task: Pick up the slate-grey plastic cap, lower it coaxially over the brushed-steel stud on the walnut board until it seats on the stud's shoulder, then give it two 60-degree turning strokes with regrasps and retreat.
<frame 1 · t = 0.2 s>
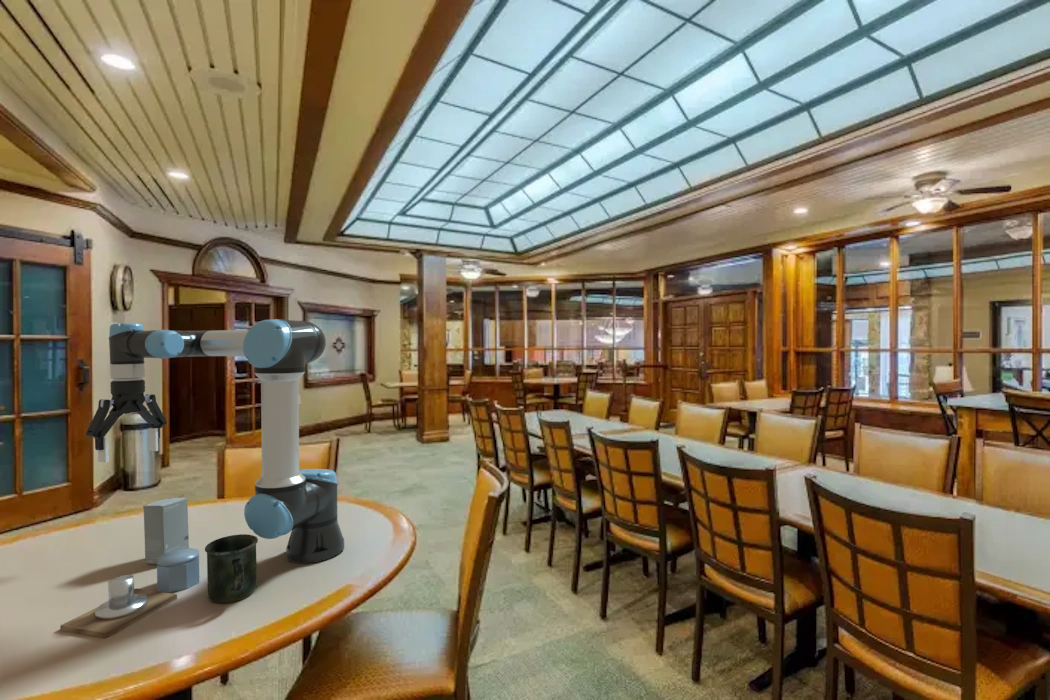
hand: (129, 456, 142), 28 cm above the table, fingers open, 13 cm apart
skincare box: (167, 559, 140), on the table
base board: (122, 613, 112), on the table
cap: (179, 583, 126), on the table
stud: (121, 594, 112), on the base board, point 4 cm above the table
mug: (234, 597, 119), on the table
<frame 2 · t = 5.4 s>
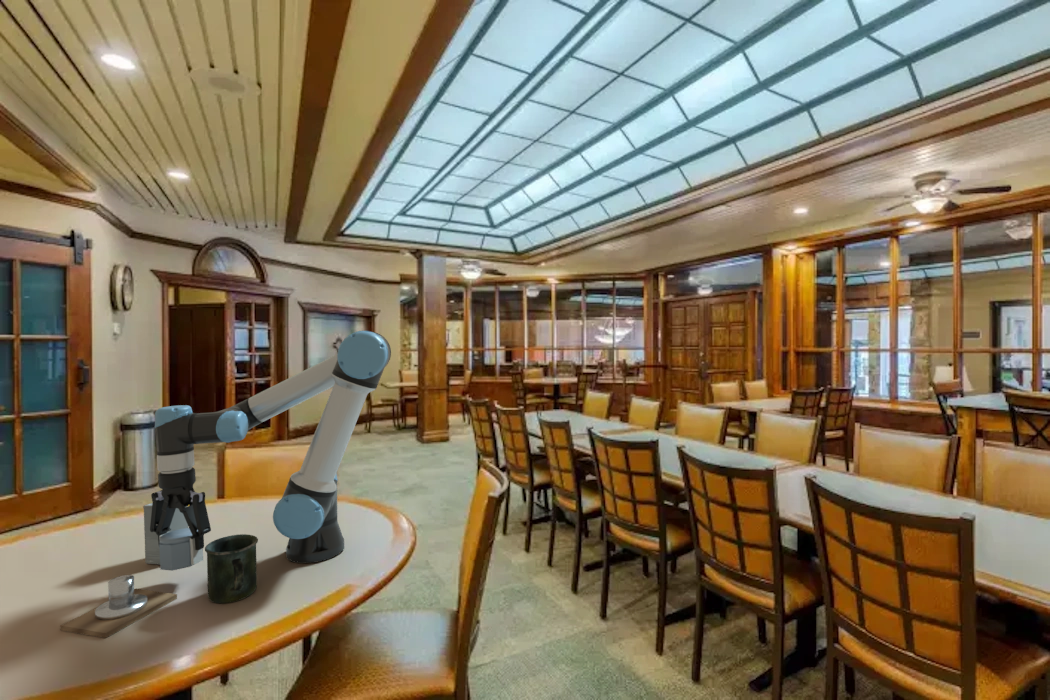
hand: (182, 561, 126), 6 cm above the table, fingers closed on cap, 8 cm apart
cap: (182, 562, 126), point 5 cm above the table, touching gripper
everything else where it was.
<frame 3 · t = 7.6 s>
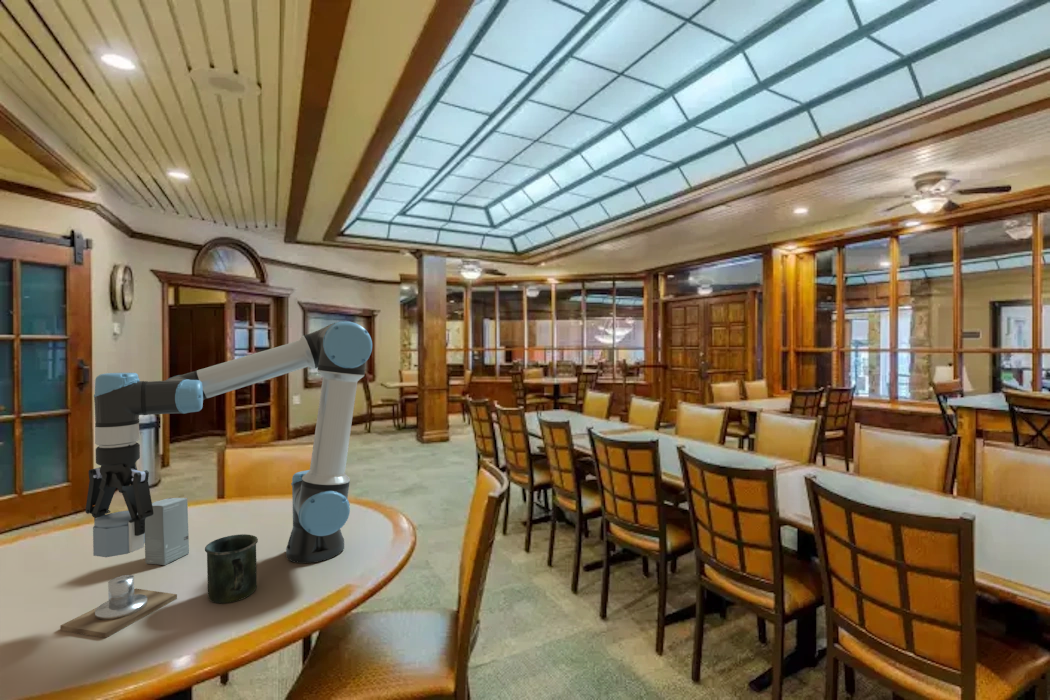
hand: (119, 547, 112), 15 cm above the table, fingers closed on cap, 8 cm apart
cap: (119, 548, 112), point 14 cm above the table, touching gripper
everything else where it was.
when the fingers open (3 cm above the table, at t = 10.0 s): cap stays where it is, resting on stud.
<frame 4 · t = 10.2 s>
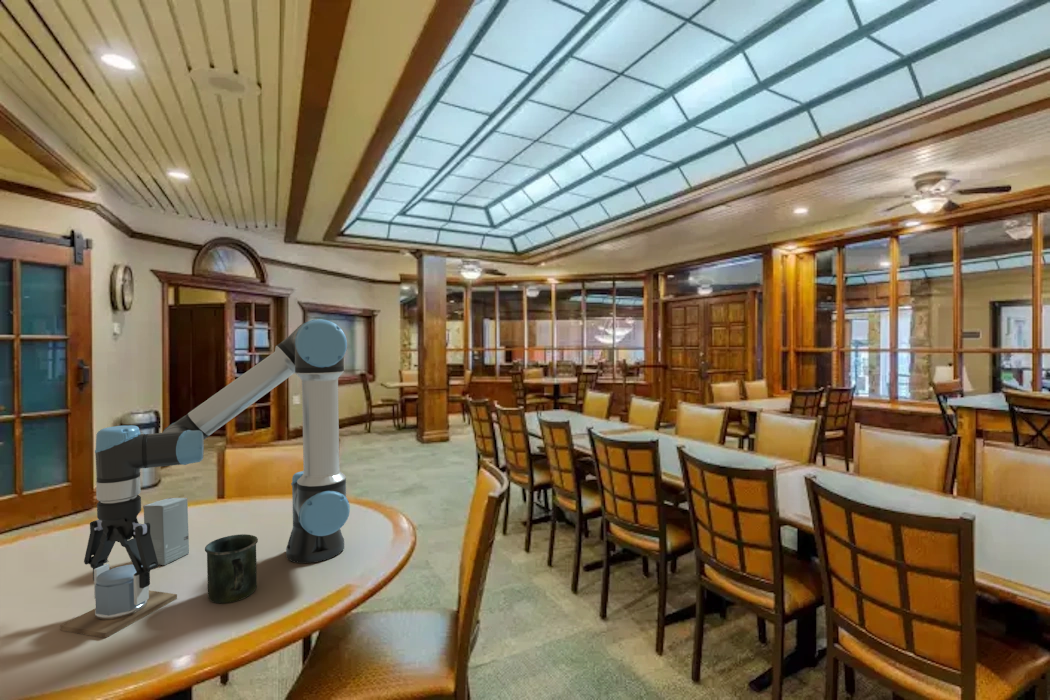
hand: (121, 598, 112), 3 cm above the table, fingers open, 10 cm apart
cap: (122, 604, 112), point 2 cm above the table, touching stud
everything else where it was.
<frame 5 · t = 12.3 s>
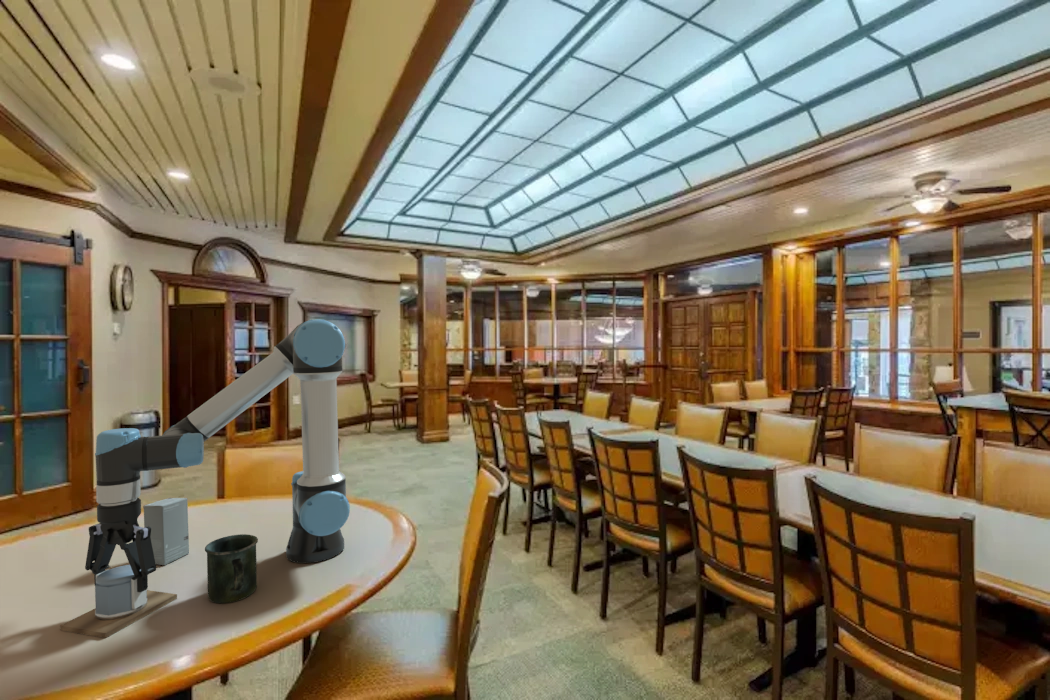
hand: (121, 603, 112), 2 cm above the table, fingers closed on cap, 9 cm apart
cap: (122, 604, 112), point 2 cm above the table, touching gripper, stud
everything else where it was.
when the fingers open (2 cm above the table, at t = 13.0 s): cap stays where it is, resting on stud.
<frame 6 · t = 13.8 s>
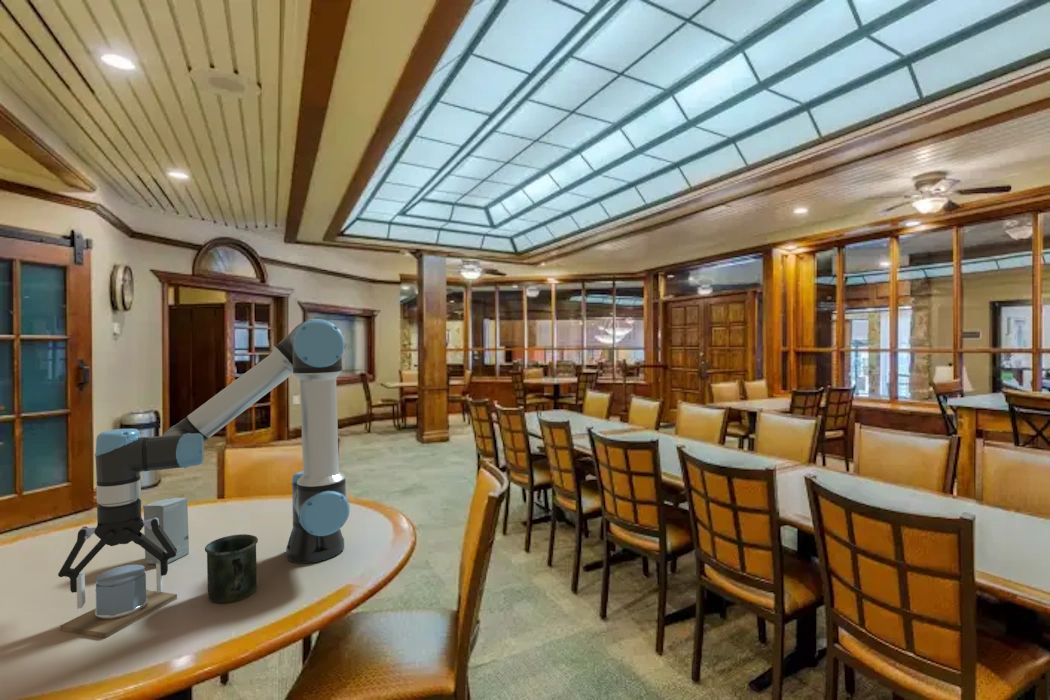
hand: (121, 597, 112), 4 cm above the table, fingers open, 13 cm apart
cap: (121, 604, 112), point 2 cm above the table, touching stud
everything else where it was.
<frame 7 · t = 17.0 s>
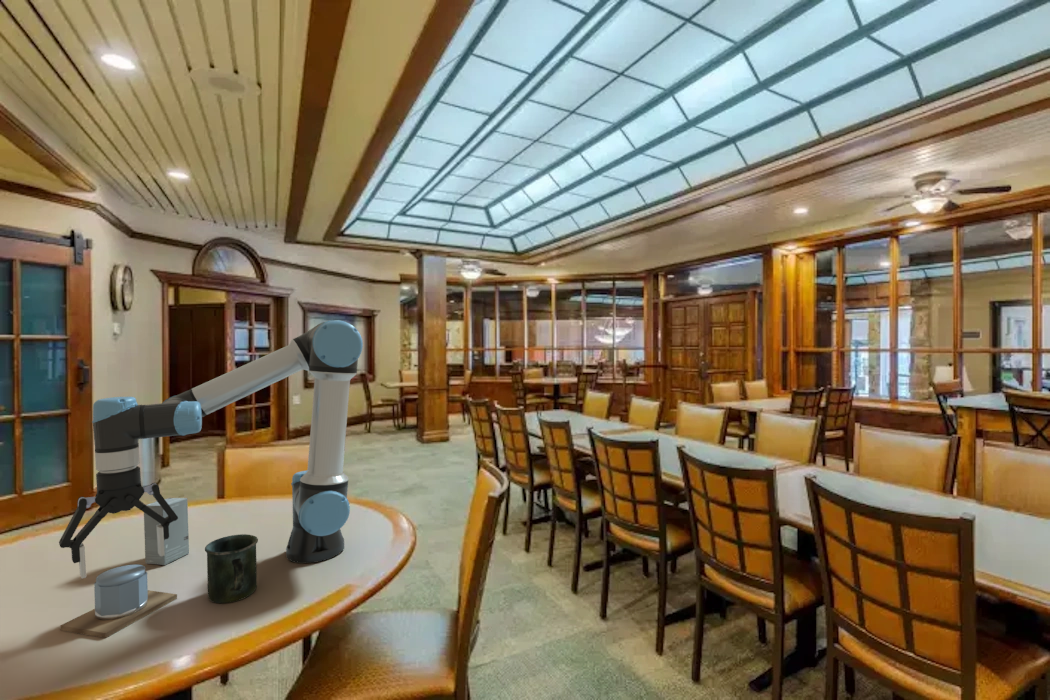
hand: (123, 564, 112), 11 cm above the table, fingers open, 13 cm apart
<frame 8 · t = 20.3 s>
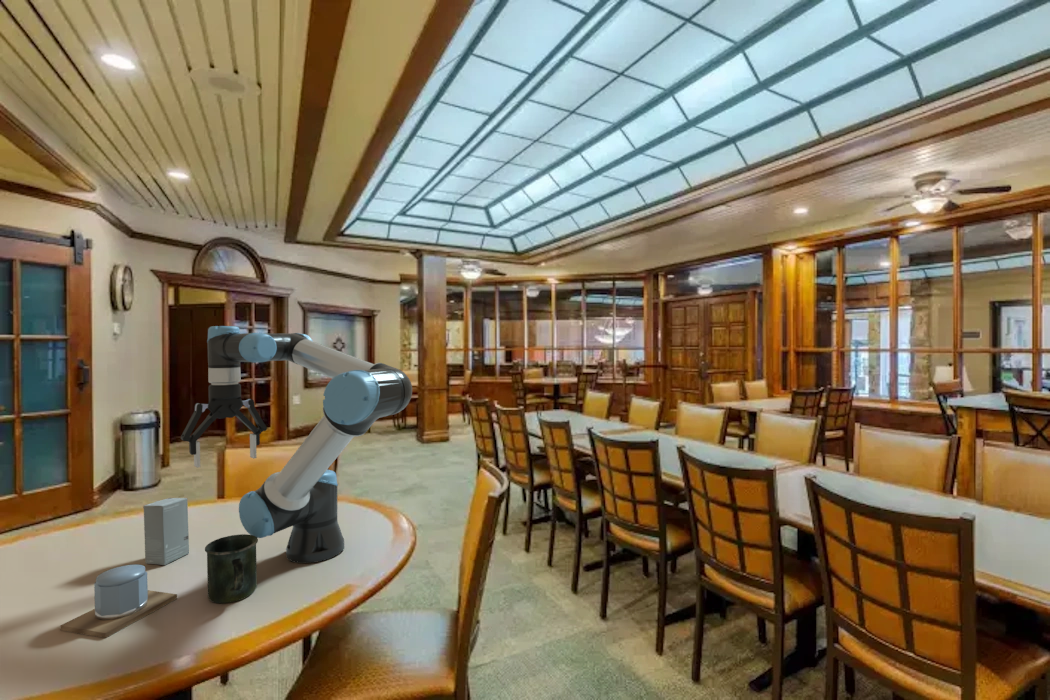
hand: (226, 462, 138), 27 cm above the table, fingers open, 13 cm apart
nothing on the table moved.
at the end: cap 0.2 cm off-centre on the stud, point 2.0 cm above the stud's base; cap tilted 0°; the gripper is holding nothing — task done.
